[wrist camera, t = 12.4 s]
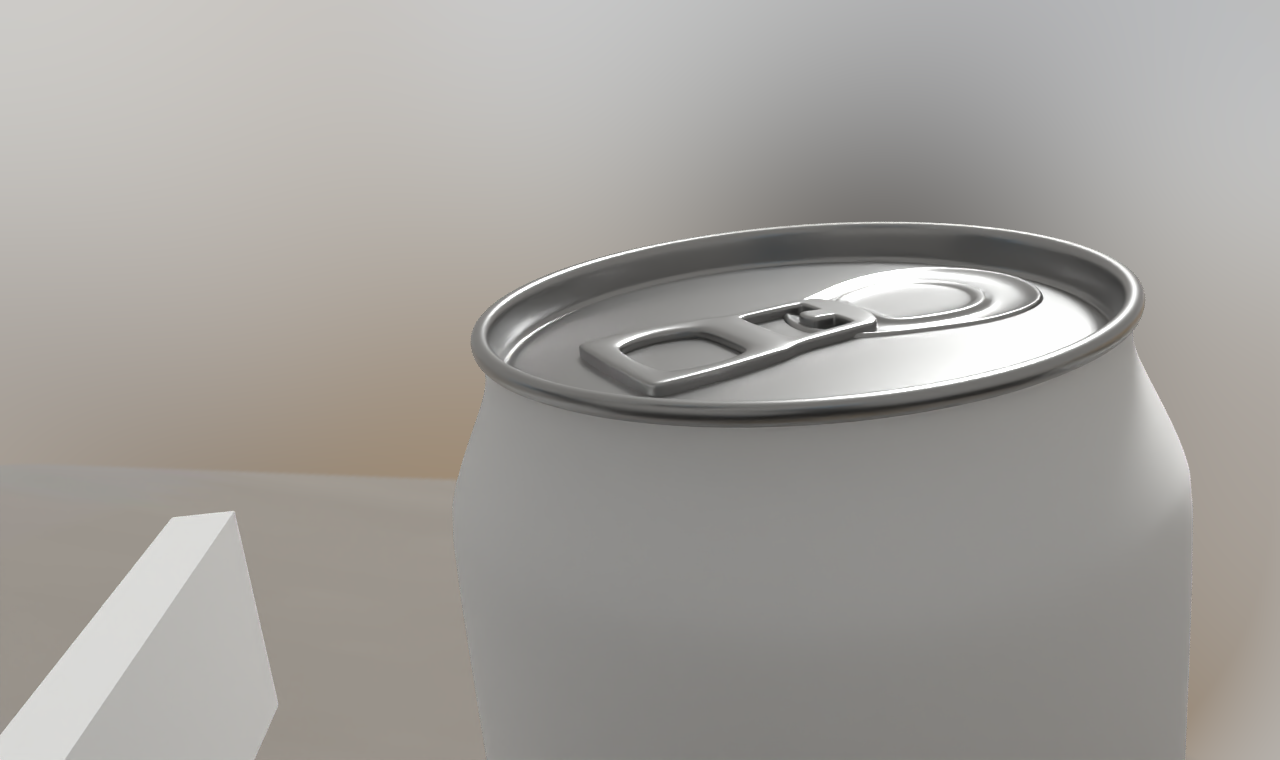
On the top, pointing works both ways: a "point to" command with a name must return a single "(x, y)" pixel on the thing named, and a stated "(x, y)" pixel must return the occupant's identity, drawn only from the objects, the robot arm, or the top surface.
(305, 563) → the top surface
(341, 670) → the top surface
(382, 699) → the top surface
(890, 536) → the can
